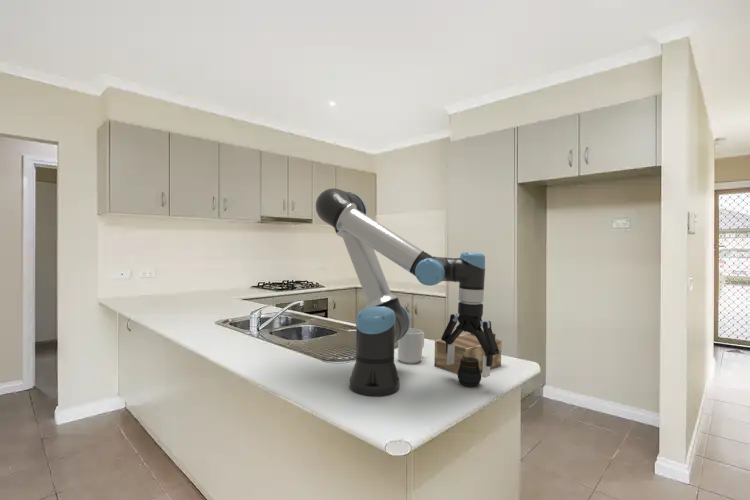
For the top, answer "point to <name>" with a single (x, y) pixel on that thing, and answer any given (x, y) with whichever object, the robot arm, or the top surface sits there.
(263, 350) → the top surface
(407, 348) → the mug
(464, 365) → the mate gourd
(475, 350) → the wooden box
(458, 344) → the lid
